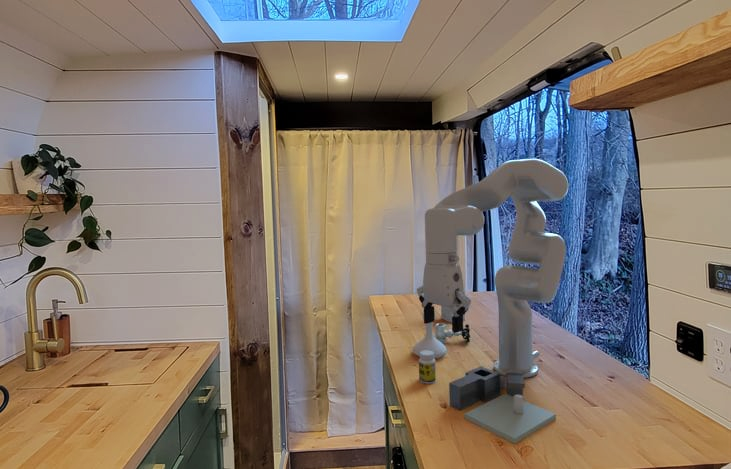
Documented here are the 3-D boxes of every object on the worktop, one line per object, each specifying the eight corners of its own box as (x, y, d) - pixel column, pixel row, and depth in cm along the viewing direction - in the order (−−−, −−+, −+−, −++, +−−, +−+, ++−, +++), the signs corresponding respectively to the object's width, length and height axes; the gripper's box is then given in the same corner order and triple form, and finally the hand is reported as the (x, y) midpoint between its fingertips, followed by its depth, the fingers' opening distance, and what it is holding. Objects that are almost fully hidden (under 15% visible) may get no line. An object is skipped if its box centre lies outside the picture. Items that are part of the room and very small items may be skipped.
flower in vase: (443, 363, 140) (441, 285, 138) (408, 359, 144) (406, 284, 142) (451, 349, 152) (449, 277, 150) (418, 345, 156) (416, 276, 154)
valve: (435, 345, 156) (470, 345, 155) (435, 327, 156) (470, 327, 154) (434, 339, 163) (467, 339, 162) (434, 321, 162) (467, 321, 161)
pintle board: (512, 391, 119) (512, 369, 119) (565, 413, 107) (565, 388, 107) (461, 416, 107) (461, 392, 107) (514, 443, 95) (514, 416, 95)
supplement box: (440, 319, 187) (440, 289, 186) (455, 316, 190) (454, 287, 189) (451, 323, 180) (450, 293, 179) (465, 320, 183) (465, 290, 182)
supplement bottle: (416, 381, 128) (415, 353, 127) (424, 375, 132) (423, 348, 131) (430, 385, 125) (429, 356, 124) (438, 379, 129) (438, 351, 128)
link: (491, 382, 125) (490, 362, 125) (510, 390, 120) (510, 369, 120) (445, 403, 114) (445, 380, 114) (464, 412, 109) (464, 389, 109)
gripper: (479, 260, 103) (480, 331, 105) (427, 253, 117) (429, 316, 119) (457, 265, 99) (458, 339, 101) (406, 257, 113) (408, 322, 115)
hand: (443, 326), depth 110 cm, fingers open, 9 cm apart
